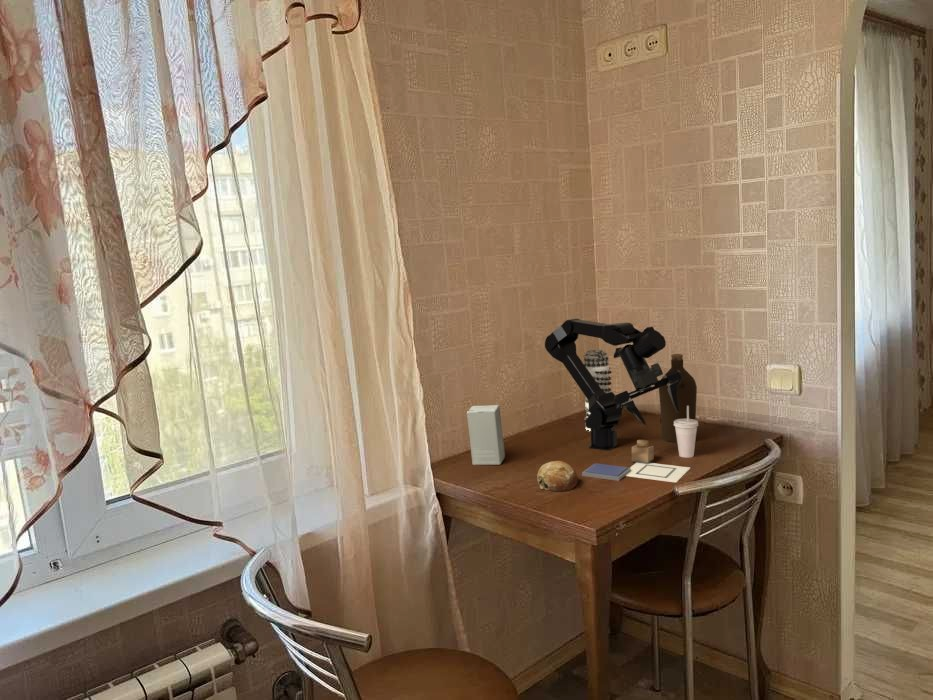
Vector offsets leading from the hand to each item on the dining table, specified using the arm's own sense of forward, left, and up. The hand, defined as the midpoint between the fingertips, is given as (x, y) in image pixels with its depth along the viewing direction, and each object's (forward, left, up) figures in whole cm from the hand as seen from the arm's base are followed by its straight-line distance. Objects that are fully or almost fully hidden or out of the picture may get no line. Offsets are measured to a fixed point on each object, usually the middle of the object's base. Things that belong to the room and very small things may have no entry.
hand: (661, 418), depth 190 cm
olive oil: (-3, +23, -12) cm, 26 cm away
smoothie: (+4, +7, -12) cm, 15 cm away
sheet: (+1, -9, -12) cm, 15 cm away
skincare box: (-44, -18, -12) cm, 49 cm away
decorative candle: (-29, +25, -12) cm, 40 cm away
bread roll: (-18, -27, -12) cm, 34 cm away
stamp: (-5, -2, -12) cm, 13 cm away
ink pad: (-10, -15, -12) cm, 21 cm away
